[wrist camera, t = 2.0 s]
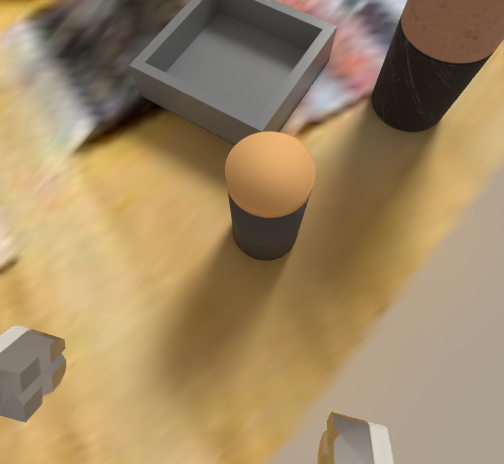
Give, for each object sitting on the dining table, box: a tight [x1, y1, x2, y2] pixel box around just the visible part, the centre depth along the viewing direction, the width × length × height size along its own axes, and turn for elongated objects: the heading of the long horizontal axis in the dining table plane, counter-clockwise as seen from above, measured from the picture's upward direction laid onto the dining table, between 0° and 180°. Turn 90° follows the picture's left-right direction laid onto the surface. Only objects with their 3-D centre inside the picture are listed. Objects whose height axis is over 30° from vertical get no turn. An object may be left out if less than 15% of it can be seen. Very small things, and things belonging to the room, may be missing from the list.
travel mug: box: [372, 0, 504, 132], centre depth 27 cm, size 8×8×20 cm
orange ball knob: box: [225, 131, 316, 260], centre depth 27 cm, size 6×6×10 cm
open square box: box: [129, 0, 337, 145], centre depth 36 cm, size 14×14×4 cm
